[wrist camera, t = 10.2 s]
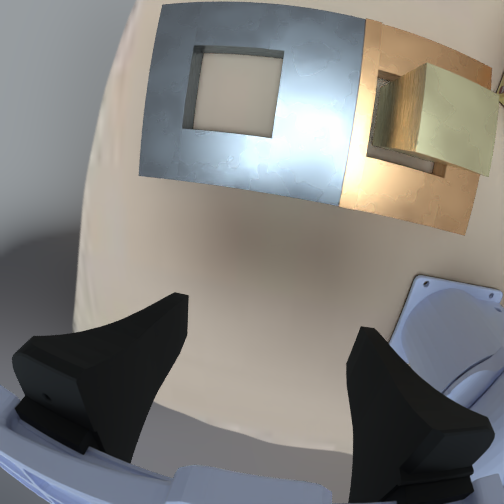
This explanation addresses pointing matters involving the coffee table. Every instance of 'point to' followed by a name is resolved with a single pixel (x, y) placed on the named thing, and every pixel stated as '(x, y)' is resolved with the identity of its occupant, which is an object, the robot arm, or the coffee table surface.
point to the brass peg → (438, 119)
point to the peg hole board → (300, 110)
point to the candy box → (501, 91)
